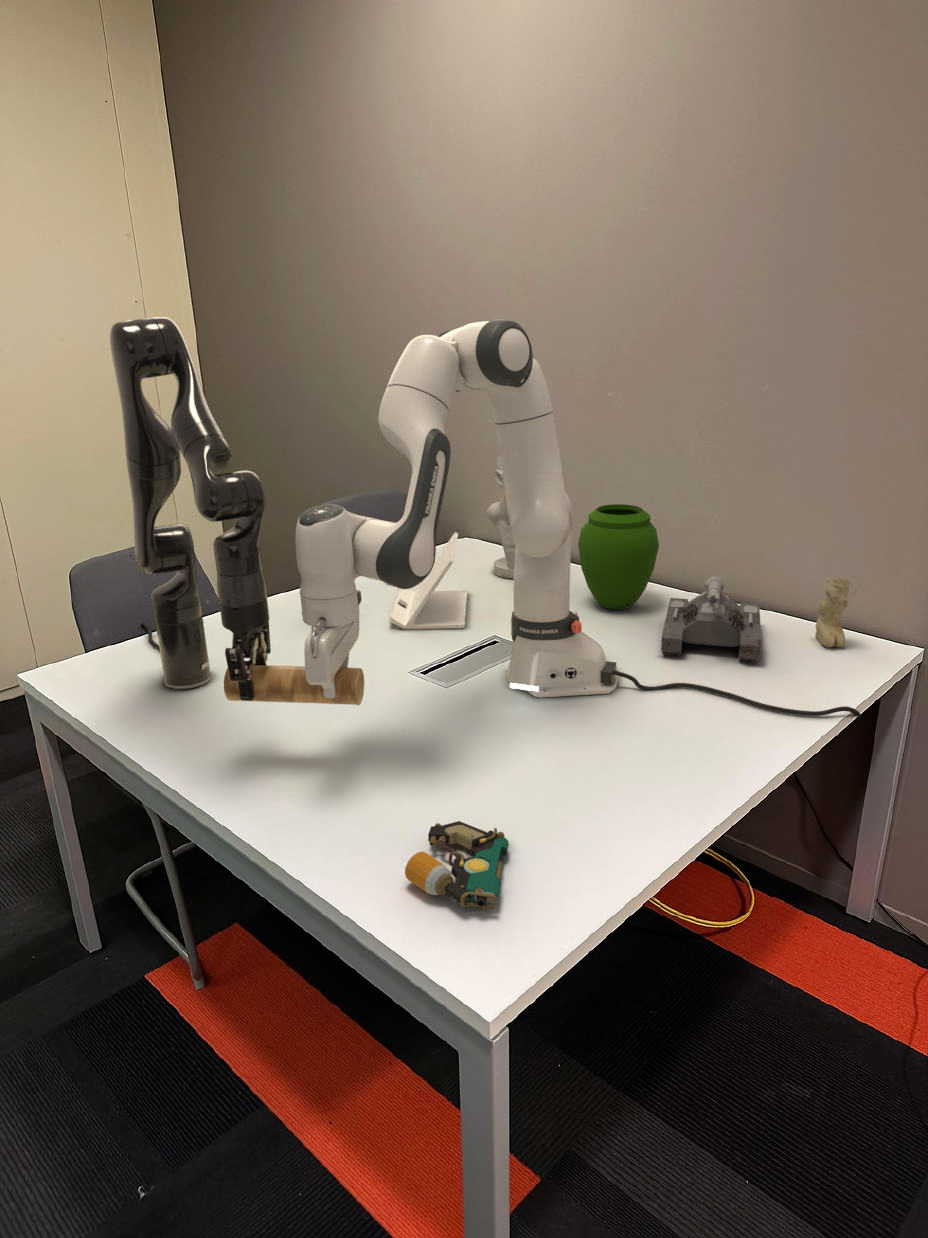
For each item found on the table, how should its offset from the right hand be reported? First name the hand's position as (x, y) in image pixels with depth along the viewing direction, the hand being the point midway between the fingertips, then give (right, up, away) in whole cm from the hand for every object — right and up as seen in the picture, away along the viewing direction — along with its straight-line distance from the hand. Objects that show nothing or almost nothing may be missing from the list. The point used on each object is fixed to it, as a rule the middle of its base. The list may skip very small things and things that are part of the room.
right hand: (336, 686), depth 141 cm
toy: (+76, +6, +50) cm, 91 cm away
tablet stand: (+13, +13, +73) cm, 75 cm away
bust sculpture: (+38, +23, +98) cm, 108 cm away
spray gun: (+21, -23, -25) cm, 40 cm away
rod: (-7, -3, +2) cm, 8 cm away
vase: (+59, +15, +73) cm, 95 cm away
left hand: (-14, -1, +2) cm, 14 cm away
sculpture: (+101, +6, +46) cm, 111 cm away
